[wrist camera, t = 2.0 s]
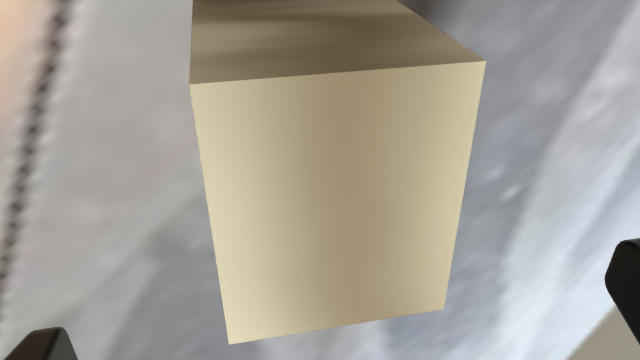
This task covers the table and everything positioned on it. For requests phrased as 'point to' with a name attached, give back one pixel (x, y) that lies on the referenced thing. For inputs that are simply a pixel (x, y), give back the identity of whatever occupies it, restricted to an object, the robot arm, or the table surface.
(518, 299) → the table surface
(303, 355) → the table surface
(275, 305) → the module block
